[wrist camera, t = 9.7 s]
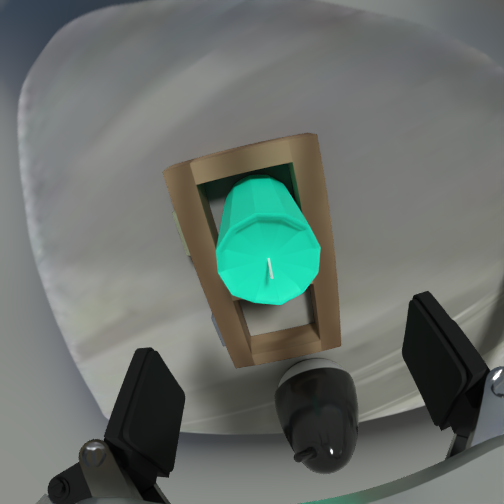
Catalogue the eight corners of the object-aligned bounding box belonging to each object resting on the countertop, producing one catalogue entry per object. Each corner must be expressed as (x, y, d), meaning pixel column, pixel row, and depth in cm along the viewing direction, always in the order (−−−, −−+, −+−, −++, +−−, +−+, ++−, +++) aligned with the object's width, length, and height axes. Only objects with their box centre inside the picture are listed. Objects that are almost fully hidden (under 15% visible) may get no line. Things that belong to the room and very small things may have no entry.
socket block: (307, 132, 22) (316, 134, 20) (334, 328, 32) (341, 346, 29) (167, 166, 23) (157, 173, 20) (232, 350, 33) (232, 368, 30)
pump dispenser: (311, 333, 32) (342, 448, 18) (359, 363, 35) (393, 455, 22) (255, 377, 35) (260, 481, 22) (306, 400, 38) (323, 487, 25)
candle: (233, 166, 23) (227, 207, 13) (300, 183, 24) (347, 238, 13) (218, 229, 26) (202, 311, 15) (280, 244, 27) (305, 329, 16)
